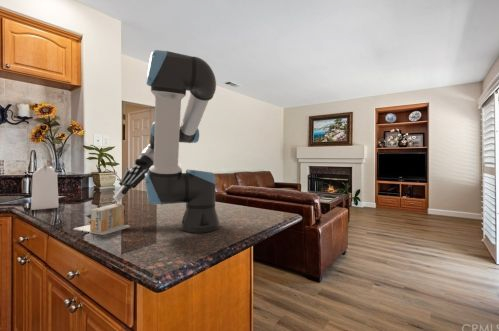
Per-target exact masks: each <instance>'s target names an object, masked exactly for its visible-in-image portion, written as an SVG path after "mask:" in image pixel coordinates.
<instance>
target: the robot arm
mask: <svg viewBox="0 0 499 331" xmlns="http://www.w3.org/2000/svg"><path fill="white" fill-rule="evenodd" d="M145 82H146V85H147V86H148V87H150V92H151V93H152V95H154V98H155V99H154V101H155V102H154V104H155V105H154V122H152V125H151V128H150V136H149V137H150V138H149V143H148V145H146V147H145V148H144V149H143V150H142V152H141V153H140V154H139V156H138V157H136V159H135V161H134V162H135V164H134V165H132V166H131V168H128V167H126V168H125V172H124V174H123V176H122V177H121V179H120V181H119V183H118V184H119V186H120V187H119V189H118V190H117V191H116V193H115V194H114V195H113V196H112V199H114V201H116V202H120V201H121V200H122V199H123V198H124V196H125V195H126V194H127V193H128V192H129V190H131V189H135V188H136V187H137V186H138V185H139V184H140V183H141V182H142V181H143V180H144V182H145V189H146V195H147V200H148V204H150V205H161V206H162V205H172V204H185V211H184V213H183V216H182V220H181V222H180V227H181V228H180V230H182V231H184V232H186V233H187V232H188V233H193V234H194V233H195V234H196V233H209V232H214V231H217V230H218V229H220V219H219V216H218V213H217V210H216V185H217V183H216V174H214V173H213V172H212V171H211V172H209V171H203V170H196V169H186V170H185V172H183V170H182V167H181V166H179V148H180V143H184V144H185V143H187V144H195V143H198V142H199V139H200V130H199V125H200V124H201V121H202V118H203V116H204V114H205V111H206V108H207V105H208V103H209V101H211V100H212V99H213V98H214V95H215V93H216V88H217V80H216V76H215V73H214V71H213V68H212V67H211V66H210V65H209V64H208V63H207V61H206V60H204V59H202V58H200V57H198V56H191V55H188V54H184V53H179V52H174V51H173V52H172V51H169V50H159V49H155V50H153V51H152V52H151V53H150V57H149V62H148V67H147V74H146V81H145ZM187 91H189V92H190V94H189V97H188V100H187V103H186V108H185V111H184V114H183V117H182V120H181V110H182V107H181V106H182V99H184V98H185V97H186V95H187Z"/></svg>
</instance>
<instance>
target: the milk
mask: <svg viewBox="0 0 499 331" xmlns="http://www.w3.org/2000/svg"><path fill="white" fill-rule="evenodd" d="M47 161H48V160H45V159H44V160H43V161H42V164H43V165H42V166H41V167H39V168H38V169H36V170H35V171H34V172H33V173H32V180H31V181H32V184H31V201H30V202H31V203H30V204H31V205H30V206H31V207H30V211H32V210H33V211H34V210H45V209H47V210H48V209H56V208H58V209H59V186H58V172H56V171H55V170H56V169H55V168H54V167H53V166H49V165H48V162H47Z"/></svg>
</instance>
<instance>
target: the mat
mask: <svg viewBox="0 0 499 331" xmlns="http://www.w3.org/2000/svg"><path fill="white" fill-rule="evenodd" d="M90 225H91V224H87V225H83V226H79V227H74V228H73V229H72V230H73V231H79V232H82V231H83V232H84V233H88V232H89V234H96V235H99V236H105V235H107V234H111V233H114V232H115V233H116V232H119V231H121V230H125V229H129V228H131V225H128V224H121V225H119V226H116V227H113V228H111V229H108V230H105V231H103V232H92V231H90Z"/></svg>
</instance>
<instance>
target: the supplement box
mask: <svg viewBox="0 0 499 331" xmlns="http://www.w3.org/2000/svg"><path fill="white" fill-rule="evenodd" d="M124 211H125V204H120V203H119V204H118V203H113V204H108V205H105V206H100V207H97V208H93V209H92V208H91V209H90V224H89V225H90V231H92V232H103V231H105V230H108V229H111V228H113V227H116V226H119V225H125V222H124V221H125V217H124V216H125V215H124V214H125V212H124Z"/></svg>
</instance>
